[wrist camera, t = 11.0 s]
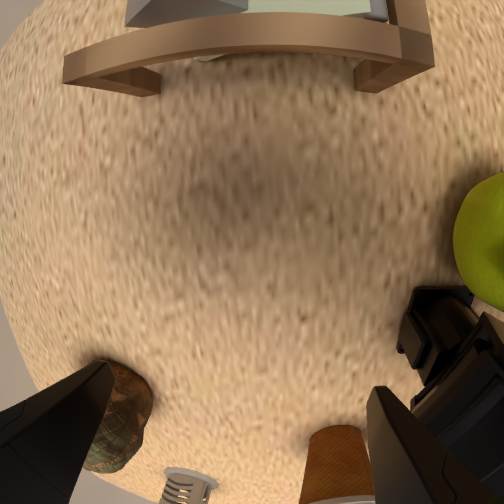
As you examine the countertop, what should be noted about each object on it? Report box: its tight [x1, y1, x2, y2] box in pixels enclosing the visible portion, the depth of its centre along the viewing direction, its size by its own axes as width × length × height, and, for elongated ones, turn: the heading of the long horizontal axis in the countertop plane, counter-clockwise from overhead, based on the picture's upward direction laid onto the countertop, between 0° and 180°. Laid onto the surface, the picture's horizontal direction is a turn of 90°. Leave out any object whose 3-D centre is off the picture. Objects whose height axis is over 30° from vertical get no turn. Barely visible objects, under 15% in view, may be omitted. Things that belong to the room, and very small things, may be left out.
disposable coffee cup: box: [299, 426, 375, 504], centre depth 23 cm, size 10×10×12 cm
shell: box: [83, 360, 152, 474], centre depth 23 cm, size 11×11×12 cm
